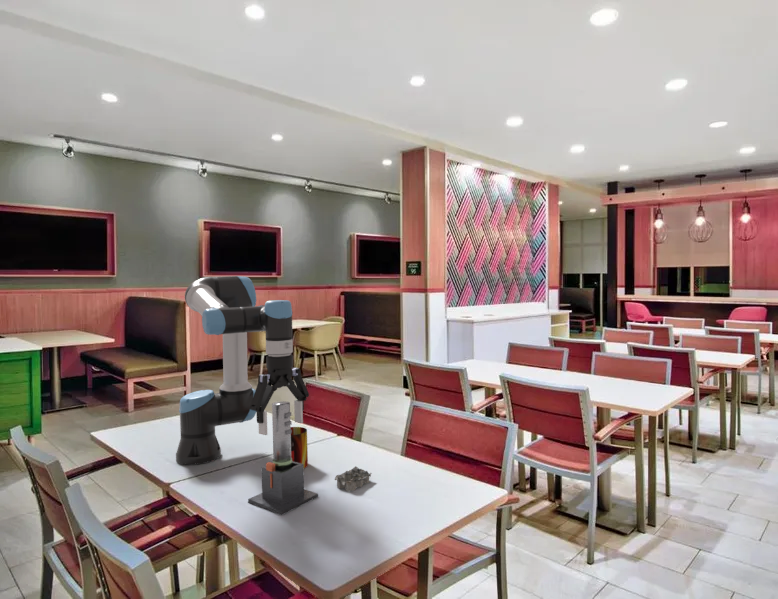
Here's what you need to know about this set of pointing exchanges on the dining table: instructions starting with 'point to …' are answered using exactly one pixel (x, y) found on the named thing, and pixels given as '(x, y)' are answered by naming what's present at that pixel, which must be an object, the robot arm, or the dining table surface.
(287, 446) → the column
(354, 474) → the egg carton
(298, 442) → the mug
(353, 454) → the dining table surface
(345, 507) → the dining table surface
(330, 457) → the dining table surface
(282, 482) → the stand
